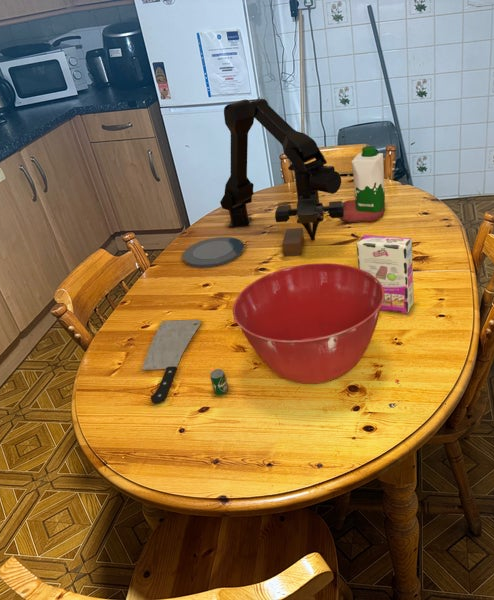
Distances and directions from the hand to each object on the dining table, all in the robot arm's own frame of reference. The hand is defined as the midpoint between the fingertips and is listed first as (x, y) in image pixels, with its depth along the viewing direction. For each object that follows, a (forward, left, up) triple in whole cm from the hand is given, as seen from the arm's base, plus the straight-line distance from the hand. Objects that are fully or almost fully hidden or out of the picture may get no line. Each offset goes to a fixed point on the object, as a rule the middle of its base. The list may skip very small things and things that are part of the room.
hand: (313, 239), depth 156 cm
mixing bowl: (+54, +4, -2) cm, 54 cm away
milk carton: (-21, +16, -2) cm, 27 cm away
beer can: (+62, -14, -2) cm, 63 cm away
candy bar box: (+34, +19, -2) cm, 39 cm away
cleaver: (+50, -29, -2) cm, 58 cm away
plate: (0, -30, -2) cm, 30 cm away
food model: (-22, +14, -1) cm, 26 cm away
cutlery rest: (0, -6, -2) cm, 6 cm away
